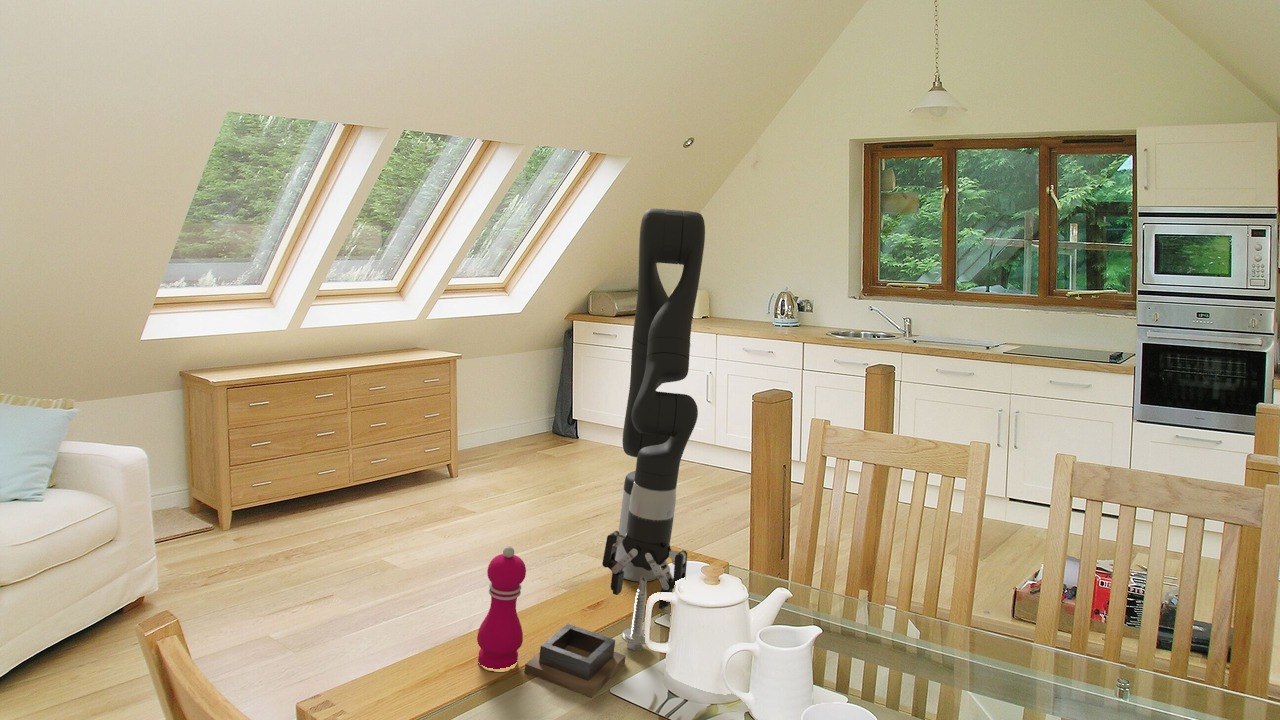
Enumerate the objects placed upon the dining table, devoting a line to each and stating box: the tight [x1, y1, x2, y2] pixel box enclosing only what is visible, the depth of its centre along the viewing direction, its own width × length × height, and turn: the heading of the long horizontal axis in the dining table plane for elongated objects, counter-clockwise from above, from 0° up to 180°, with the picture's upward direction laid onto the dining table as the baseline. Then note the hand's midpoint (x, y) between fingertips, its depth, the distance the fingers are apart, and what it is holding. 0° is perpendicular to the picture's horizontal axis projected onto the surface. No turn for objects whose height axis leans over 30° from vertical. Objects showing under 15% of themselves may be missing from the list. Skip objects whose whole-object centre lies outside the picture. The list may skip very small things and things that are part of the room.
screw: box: [621, 577, 648, 652], centre depth 163 cm, size 13×5×5 cm
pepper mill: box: [476, 546, 527, 669], centre depth 152 cm, size 7×7×20 cm
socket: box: [539, 623, 616, 681], centre depth 155 cm, size 9×9×3 cm
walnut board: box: [524, 645, 627, 699], centre depth 155 cm, size 12×12×2 cm
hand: (639, 600), depth 162 cm, fingers open, 8 cm apart
